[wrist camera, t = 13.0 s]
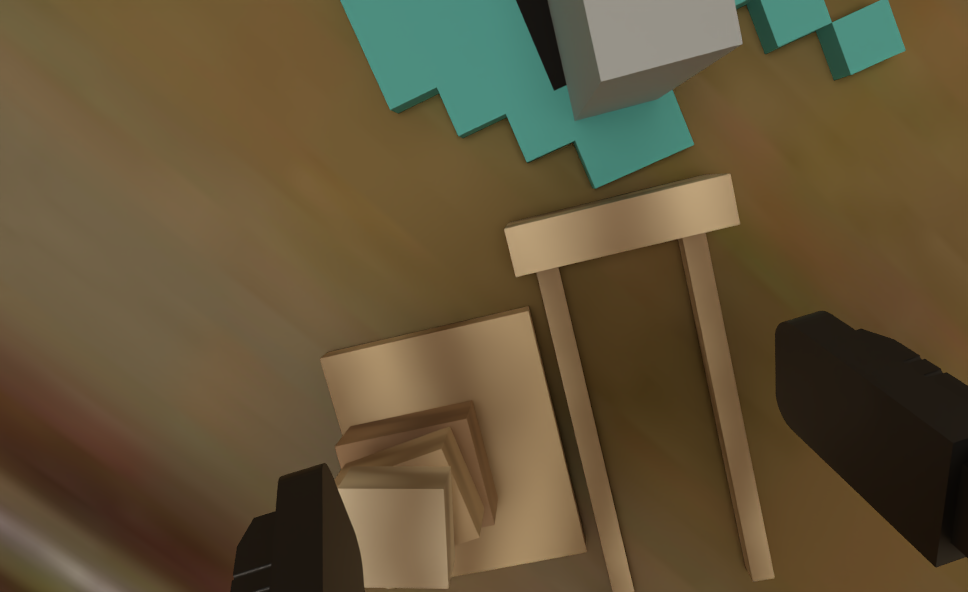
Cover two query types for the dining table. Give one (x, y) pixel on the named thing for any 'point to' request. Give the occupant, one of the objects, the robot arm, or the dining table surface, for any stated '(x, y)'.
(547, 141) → the alien figure
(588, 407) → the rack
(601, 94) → the gray eraser-like brick
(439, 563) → the offcut
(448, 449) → the offcut
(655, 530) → the dining table surface
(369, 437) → the offcut
